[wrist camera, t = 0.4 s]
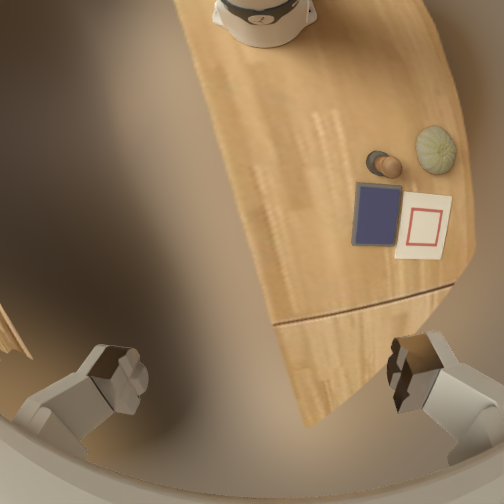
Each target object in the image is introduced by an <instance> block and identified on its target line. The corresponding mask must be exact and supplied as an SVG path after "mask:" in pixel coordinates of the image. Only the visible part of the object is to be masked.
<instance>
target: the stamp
mask: <svg viewBox="0 0 504 504" xmlns="http://www.w3.org/2000/svg"><path fill="white" fill-rule="evenodd" d="M366 165H367V168H368V169H369V171H370V172H372V173H374V174H376V175H378V176H383V175H385V176H386V177H388V178H396V177H398V176H399V175H400V174H401V172H402V165H401V162H400V161H399V160H398V159H397V158H395V157H393V156H389V155H388V154H386V153H384V152H381V151H373V152H371V153H370V154H369V155H368V157H367V160H366Z"/></svg>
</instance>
